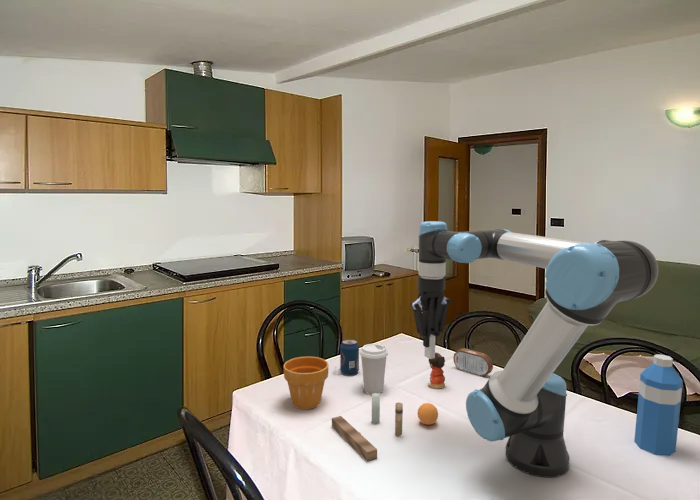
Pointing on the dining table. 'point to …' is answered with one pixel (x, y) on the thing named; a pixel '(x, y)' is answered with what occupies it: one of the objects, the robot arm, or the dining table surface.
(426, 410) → the ball
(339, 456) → the dining table surface
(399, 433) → the pin
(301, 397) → the flower pot
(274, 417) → the dining table surface
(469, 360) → the tin
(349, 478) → the dining table surface
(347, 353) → the soda can
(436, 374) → the figurine
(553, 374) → the robot arm
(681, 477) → the dining table surface
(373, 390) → the coffee cup
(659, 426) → the water bottle
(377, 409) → the side pin
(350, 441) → the brown wooden bar
